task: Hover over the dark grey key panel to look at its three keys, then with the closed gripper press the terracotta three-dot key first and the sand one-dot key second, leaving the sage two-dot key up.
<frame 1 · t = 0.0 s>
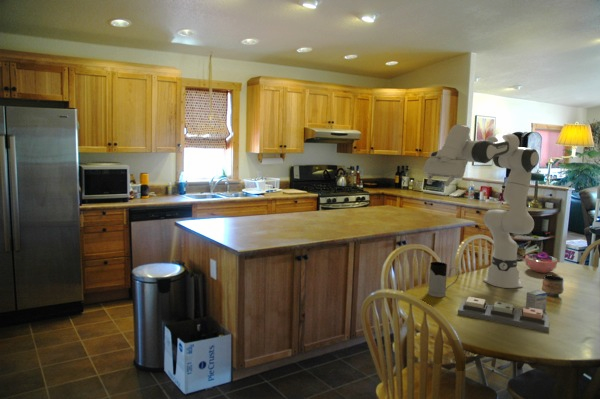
hand: (437, 184, 197), 54 cm above the table, tool tilted 30°, fingers open, 8 cm apart
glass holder: (442, 294, 216), on the table
key one: (475, 302, 193), point 4 cm above the table, slide at 0.0 cm
key two: (503, 307, 188), point 4 cm above the table, slide at 0.0 cm
key three: (532, 312, 182), point 4 cm above the table, slide at 0.0 cm
medicine box: (535, 311, 196), on the table
key panel: (502, 317, 188), on the table
cell model: (540, 272, 259), on the table
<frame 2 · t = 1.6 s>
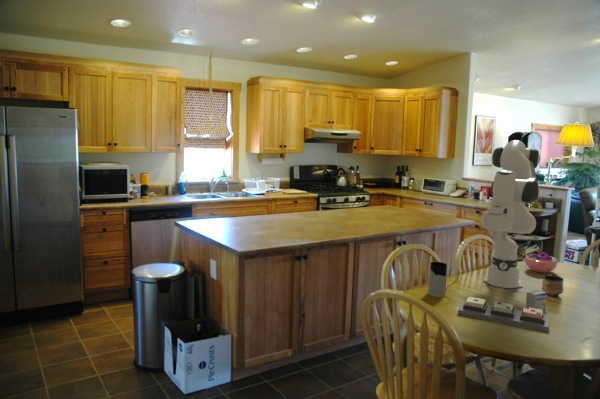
hand: (499, 241, 188), 32 cm above the table, tool pointing down, fingers open, 8 cm apart
nothing on the table moved.
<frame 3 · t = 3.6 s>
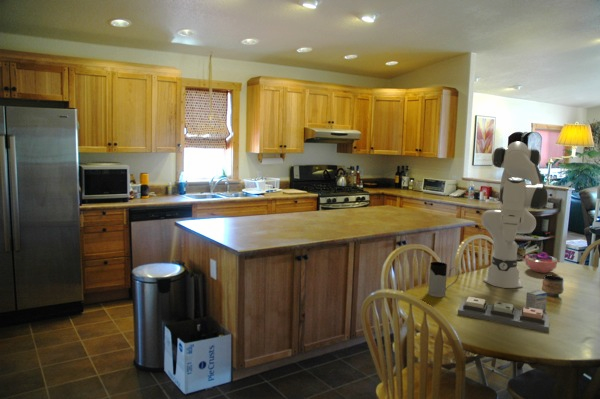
hand: (509, 248, 188), 29 cm above the table, tool pointing down, fingers closed
nothing on the table moved.
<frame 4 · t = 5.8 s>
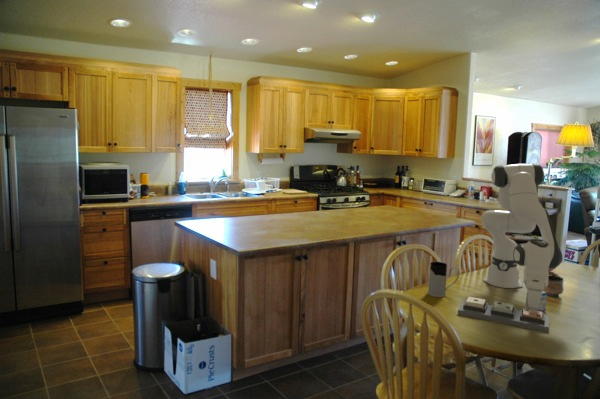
hand: (532, 312, 182), 4 cm above the table, tool pointing down, fingers closed, pressing on key three
key three: (532, 315, 183), point 3 cm above the table, slide at 0.9 cm, touching gripper
everything else where it was.
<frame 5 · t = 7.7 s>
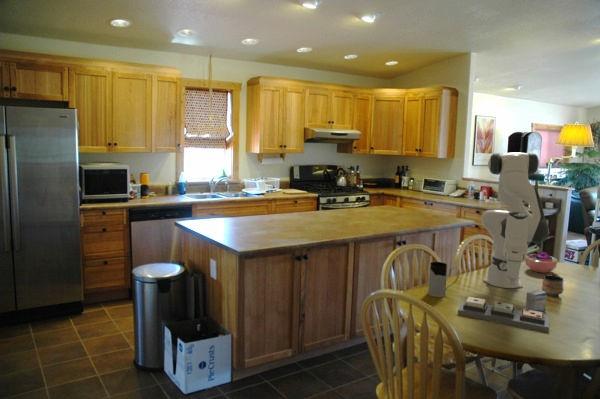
hand: (512, 284, 185), 15 cm above the table, tool pointing down, fingers closed
key three: (532, 315, 183), point 3 cm above the table, slide at 1.1 cm
everything else where it was.
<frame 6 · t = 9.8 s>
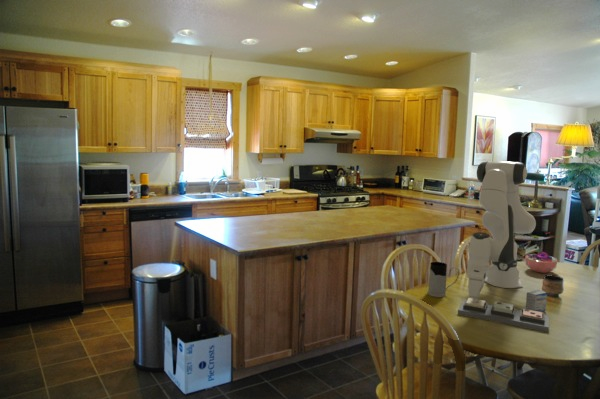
hand: (475, 301, 193), 5 cm above the table, tool pointing down, fingers closed, pressing on key one
key one: (475, 303, 193), point 4 cm above the table, slide at 0.6 cm, touching gripper
everything else where it was.
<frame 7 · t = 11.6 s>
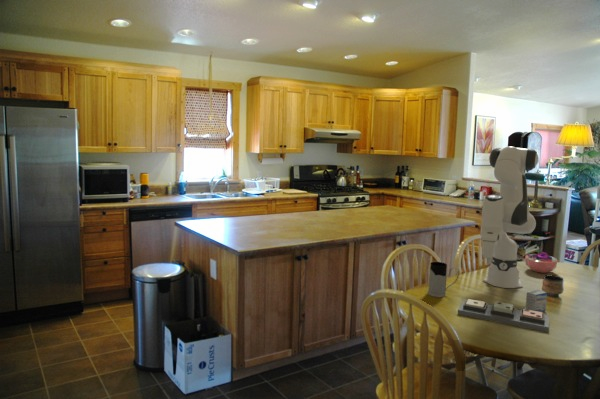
hand: (489, 263, 194), 21 cm above the table, tool pointing down, fingers closed
key one: (475, 304, 193), point 3 cm above the table, slide at 1.1 cm
everything else where it was.
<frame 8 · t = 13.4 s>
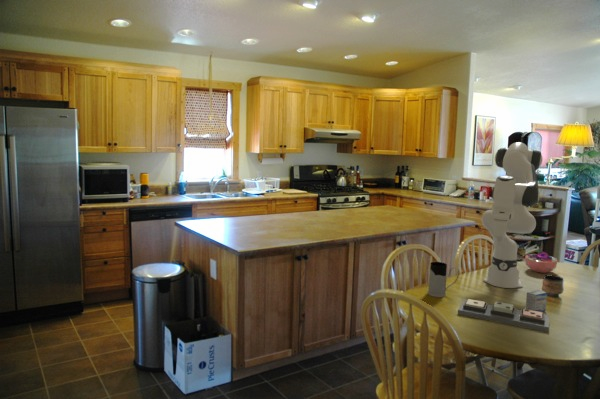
hand: (500, 244, 195), 29 cm above the table, tool pointing down, fingers closed
nothing on the table moved.
at the end: key three slide at 1.1 cm; key one slide at 1.1 cm; key two slide at 0.0 cm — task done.
